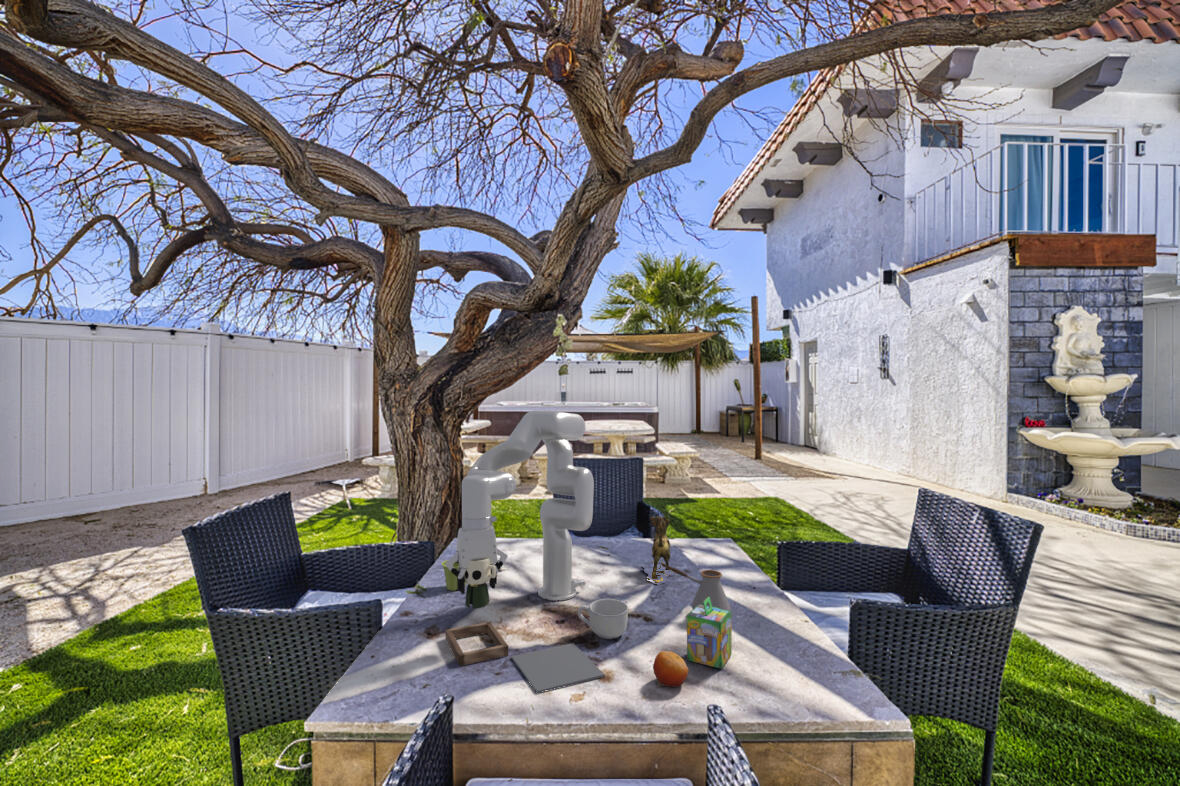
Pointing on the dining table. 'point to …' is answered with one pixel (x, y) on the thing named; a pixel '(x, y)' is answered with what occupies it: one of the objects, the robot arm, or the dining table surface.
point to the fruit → (670, 669)
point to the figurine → (660, 545)
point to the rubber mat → (556, 667)
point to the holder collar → (476, 655)
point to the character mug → (478, 582)
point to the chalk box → (709, 635)
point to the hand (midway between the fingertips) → (477, 589)
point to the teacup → (606, 617)
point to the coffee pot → (707, 588)
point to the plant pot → (450, 577)
